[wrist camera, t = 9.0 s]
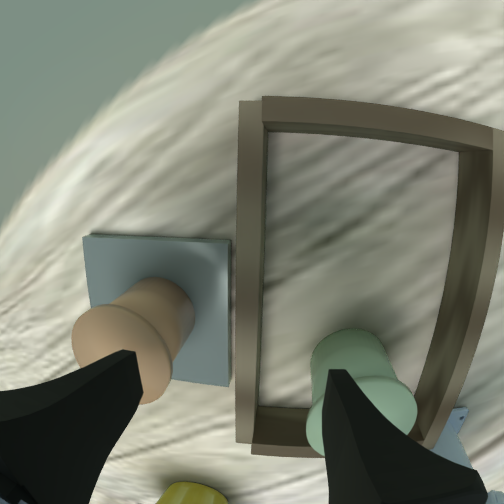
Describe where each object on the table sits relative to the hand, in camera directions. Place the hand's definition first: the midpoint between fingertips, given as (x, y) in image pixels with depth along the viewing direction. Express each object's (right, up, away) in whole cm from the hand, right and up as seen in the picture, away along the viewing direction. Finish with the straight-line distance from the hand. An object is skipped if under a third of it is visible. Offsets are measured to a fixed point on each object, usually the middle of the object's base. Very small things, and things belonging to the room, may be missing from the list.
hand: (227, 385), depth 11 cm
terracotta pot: (-5, +1, +9) cm, 10 cm away
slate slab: (-5, +1, +10) cm, 12 cm away
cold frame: (+8, +2, +8) cm, 11 cm away
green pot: (+7, -3, +9) cm, 12 cm away
